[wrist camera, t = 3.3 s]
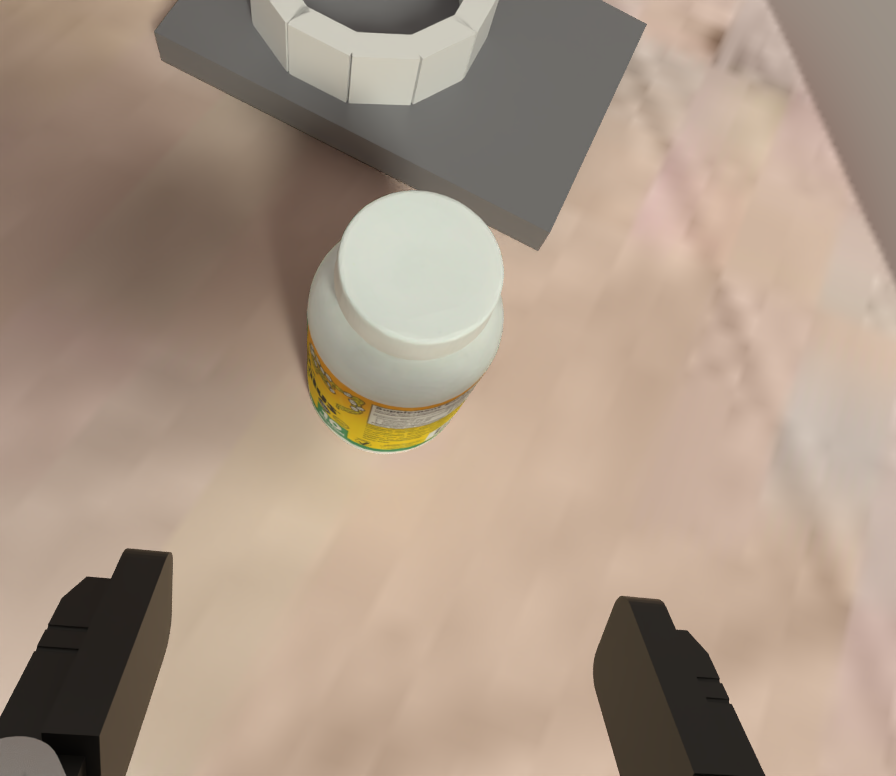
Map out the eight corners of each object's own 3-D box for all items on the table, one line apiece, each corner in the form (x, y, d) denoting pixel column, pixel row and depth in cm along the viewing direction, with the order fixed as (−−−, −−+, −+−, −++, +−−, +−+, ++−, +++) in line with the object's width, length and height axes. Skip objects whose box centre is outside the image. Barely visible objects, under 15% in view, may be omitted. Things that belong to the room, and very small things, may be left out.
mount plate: (161, 60, 29) (139, -23, 25) (298, -125, 32) (298, -221, 29) (538, 250, 29) (572, 198, 26) (632, 49, 33) (674, -24, 29)
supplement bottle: (467, 449, 27) (550, 367, 18) (312, 463, 26) (317, 383, 17) (448, 306, 28) (515, 163, 19) (300, 314, 27) (298, 165, 18)
